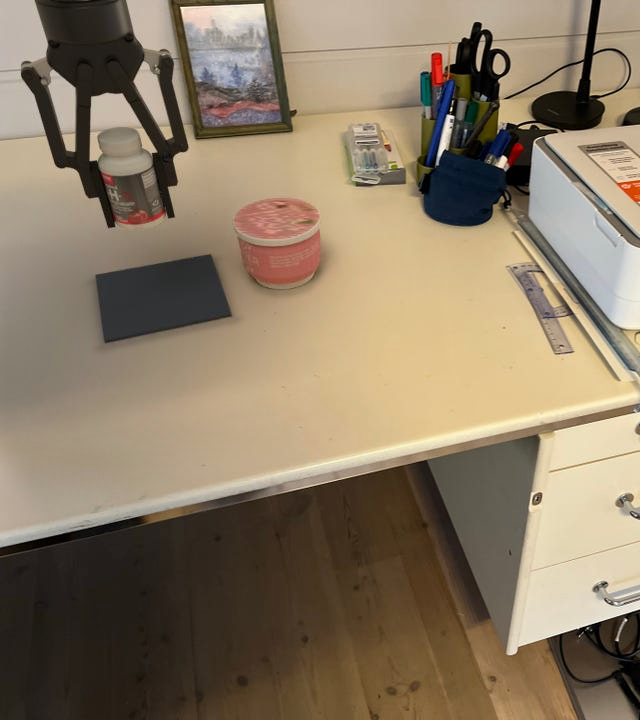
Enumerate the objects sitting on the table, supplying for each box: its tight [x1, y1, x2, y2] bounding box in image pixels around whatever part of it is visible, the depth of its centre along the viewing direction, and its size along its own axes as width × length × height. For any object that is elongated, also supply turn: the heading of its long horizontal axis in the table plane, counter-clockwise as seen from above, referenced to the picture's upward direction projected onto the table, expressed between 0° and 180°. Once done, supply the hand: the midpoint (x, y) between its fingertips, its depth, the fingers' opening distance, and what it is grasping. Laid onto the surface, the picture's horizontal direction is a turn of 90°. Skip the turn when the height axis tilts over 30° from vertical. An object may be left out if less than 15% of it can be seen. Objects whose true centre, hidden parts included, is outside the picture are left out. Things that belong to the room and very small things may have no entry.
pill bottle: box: [96, 126, 167, 231], centre depth 79 cm, size 5×5×10 cm
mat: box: [95, 253, 233, 344], centre depth 92 cm, size 14×14×1 cm
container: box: [232, 197, 322, 290], centre depth 94 cm, size 10×10×8 cm
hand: (140, 216), depth 83 cm, fingers closed on pill bottle, 5 cm apart
